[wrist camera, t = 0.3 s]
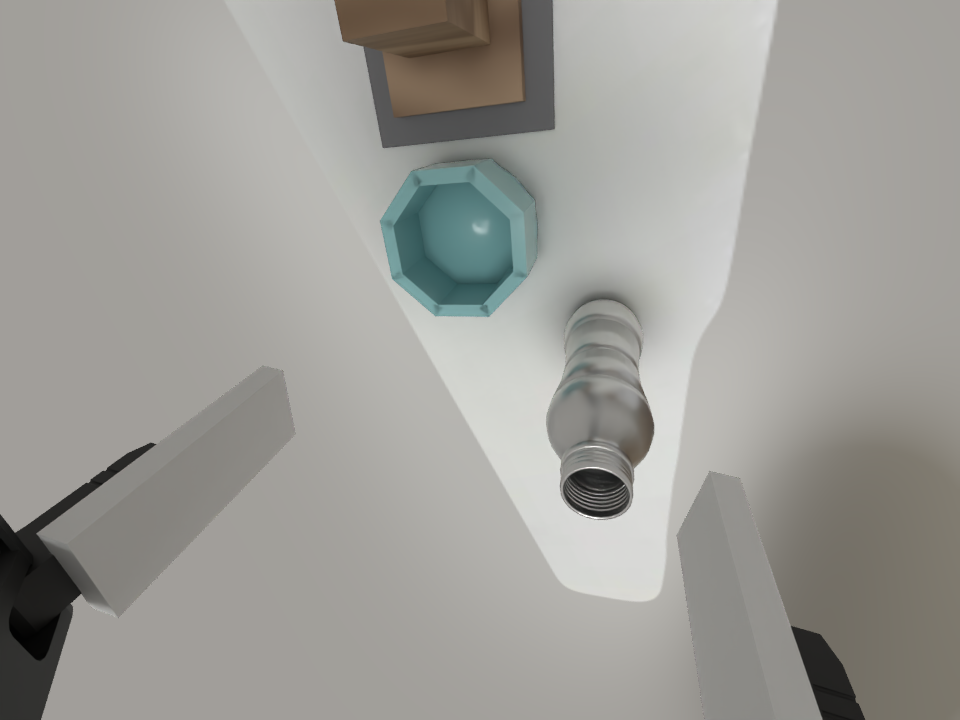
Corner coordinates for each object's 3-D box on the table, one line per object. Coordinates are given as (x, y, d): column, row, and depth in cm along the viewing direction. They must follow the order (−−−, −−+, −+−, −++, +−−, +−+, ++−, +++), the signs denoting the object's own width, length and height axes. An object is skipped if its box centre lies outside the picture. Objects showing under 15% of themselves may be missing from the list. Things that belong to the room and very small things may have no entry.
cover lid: (372, -52, 29) (271, -119, 20) (517, -89, 26) (471, -185, 18) (400, 117, 34) (328, 119, 25) (525, 101, 31) (492, 97, 22)
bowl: (404, 165, 36) (370, 174, 31) (535, 153, 33) (521, 161, 28) (425, 290, 41) (399, 315, 36) (540, 290, 38) (529, 317, 33)
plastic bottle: (573, 363, 41) (546, 538, 24) (559, 297, 38) (518, 445, 21) (645, 355, 38) (670, 543, 22) (636, 284, 36) (658, 438, 19)
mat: (340, -83, 29) (338, -85, 28) (549, -143, 25) (549, -145, 25) (384, 147, 35) (383, 148, 35) (554, 129, 32) (554, 129, 31)
